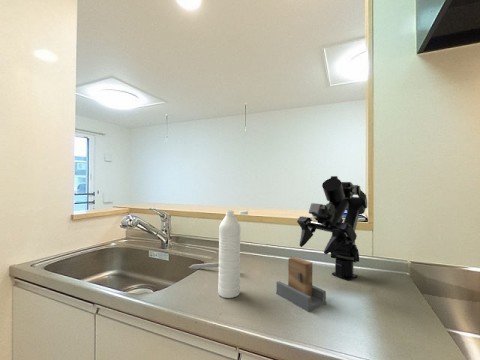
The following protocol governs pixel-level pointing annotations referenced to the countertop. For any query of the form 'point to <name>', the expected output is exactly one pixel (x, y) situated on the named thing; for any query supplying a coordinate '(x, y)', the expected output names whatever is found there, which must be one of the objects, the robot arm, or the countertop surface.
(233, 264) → the water bottle
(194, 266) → the caliper
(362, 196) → the robot arm
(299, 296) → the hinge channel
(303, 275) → the door slab
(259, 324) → the countertop surface
